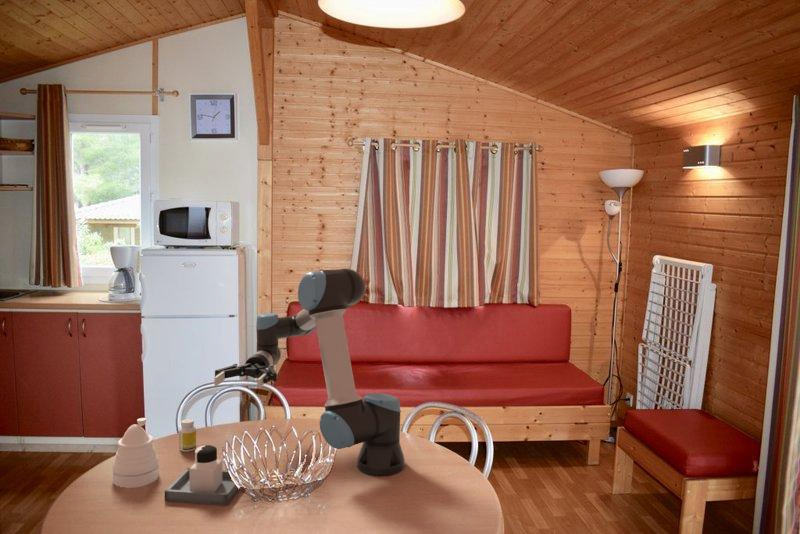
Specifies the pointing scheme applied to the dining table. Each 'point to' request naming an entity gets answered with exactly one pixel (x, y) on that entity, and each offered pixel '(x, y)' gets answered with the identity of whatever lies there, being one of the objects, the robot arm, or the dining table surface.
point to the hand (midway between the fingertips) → (237, 382)
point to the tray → (182, 493)
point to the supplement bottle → (187, 436)
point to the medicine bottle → (206, 470)
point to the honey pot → (135, 458)
